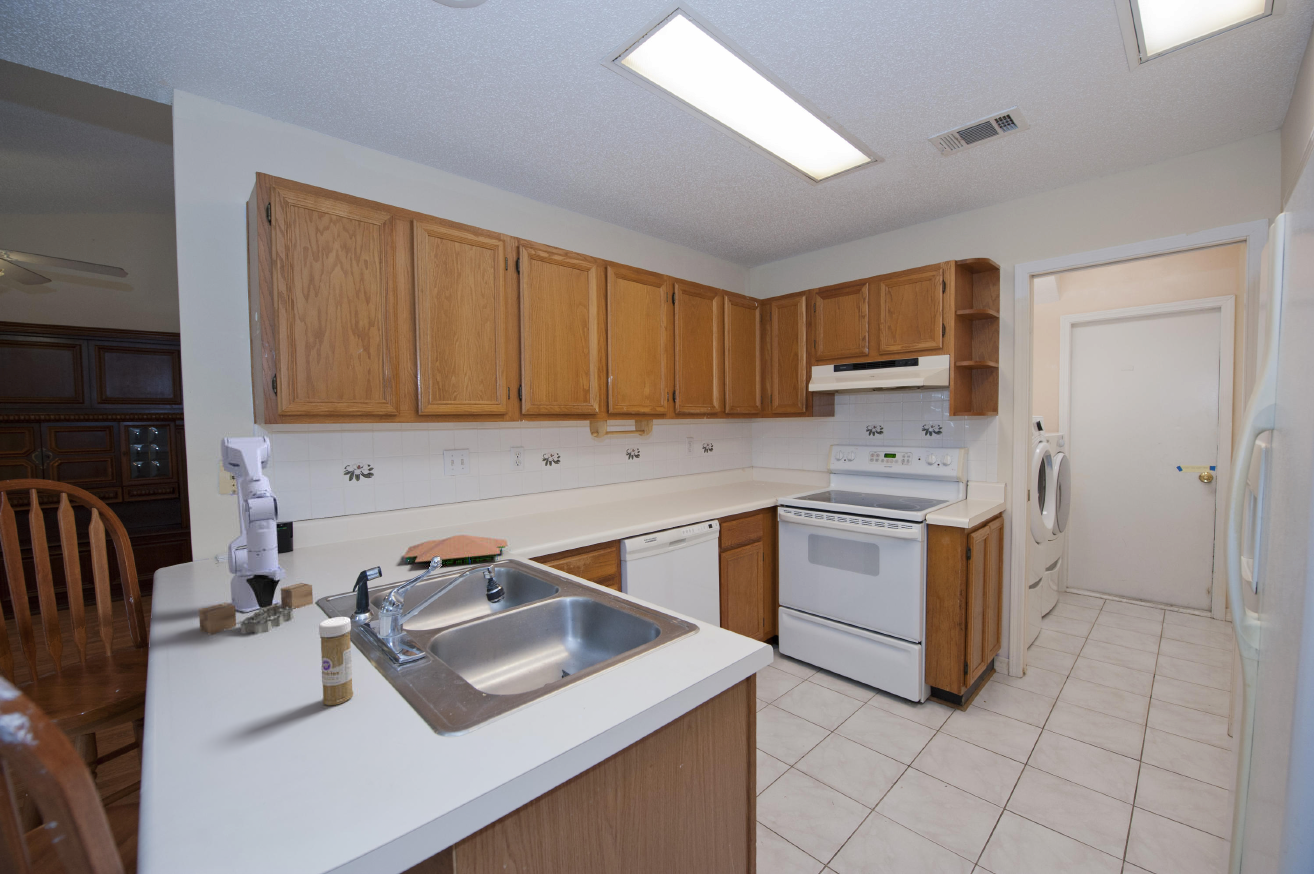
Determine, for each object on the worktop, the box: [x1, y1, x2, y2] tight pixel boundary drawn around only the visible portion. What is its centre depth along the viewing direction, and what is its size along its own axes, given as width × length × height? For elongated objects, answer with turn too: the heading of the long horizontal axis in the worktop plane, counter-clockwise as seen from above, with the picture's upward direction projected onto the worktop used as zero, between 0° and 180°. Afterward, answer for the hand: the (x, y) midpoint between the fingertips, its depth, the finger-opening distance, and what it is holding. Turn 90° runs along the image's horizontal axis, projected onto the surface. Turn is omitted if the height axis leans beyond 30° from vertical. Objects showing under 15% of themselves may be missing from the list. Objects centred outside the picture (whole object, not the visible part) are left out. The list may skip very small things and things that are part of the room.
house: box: [403, 534, 508, 565], centre depth 184 cm, size 23×33×8 cm
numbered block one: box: [280, 582, 314, 611], centre depth 139 cm, size 5×5×5 cm
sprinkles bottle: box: [318, 616, 354, 706], centre depth 90 cm, size 5×5×13 cm
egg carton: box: [236, 602, 296, 635], centre depth 126 cm, size 11×8×4 cm
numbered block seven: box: [198, 602, 237, 635], centre depth 125 cm, size 5×5×5 cm
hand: (265, 606), depth 126 cm, fingers closed
